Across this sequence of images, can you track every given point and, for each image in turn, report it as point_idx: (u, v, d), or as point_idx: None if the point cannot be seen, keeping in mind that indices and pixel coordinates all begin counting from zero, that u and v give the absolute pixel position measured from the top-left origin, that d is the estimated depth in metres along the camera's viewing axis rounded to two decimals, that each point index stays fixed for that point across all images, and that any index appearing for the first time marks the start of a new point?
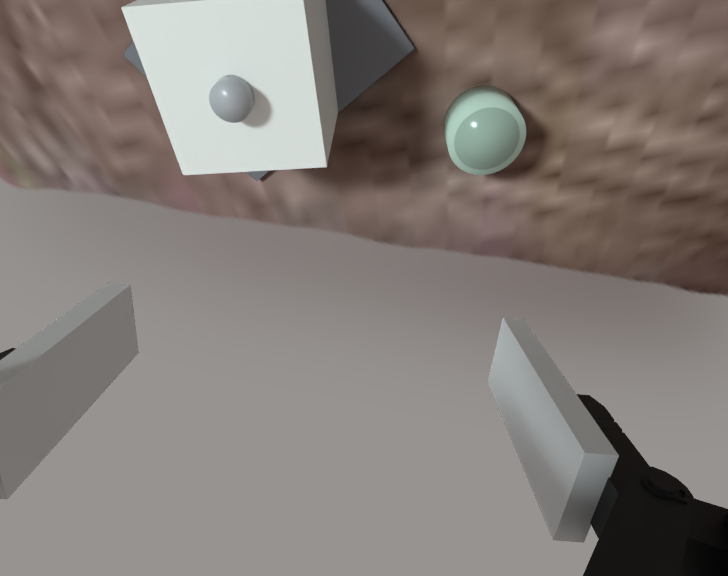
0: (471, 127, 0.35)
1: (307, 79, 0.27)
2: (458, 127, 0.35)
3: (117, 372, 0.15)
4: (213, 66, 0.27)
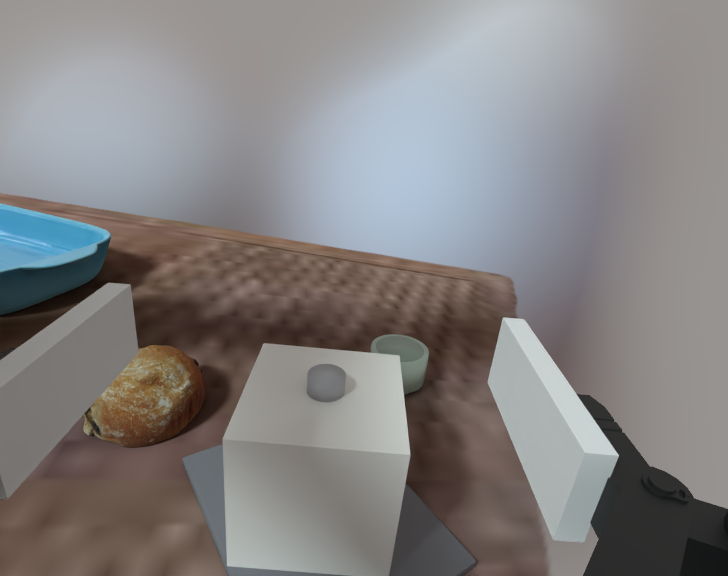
0: (390, 353, 0.46)
1: (322, 351, 0.33)
2: None
3: (117, 372, 0.15)
4: (296, 396, 0.28)
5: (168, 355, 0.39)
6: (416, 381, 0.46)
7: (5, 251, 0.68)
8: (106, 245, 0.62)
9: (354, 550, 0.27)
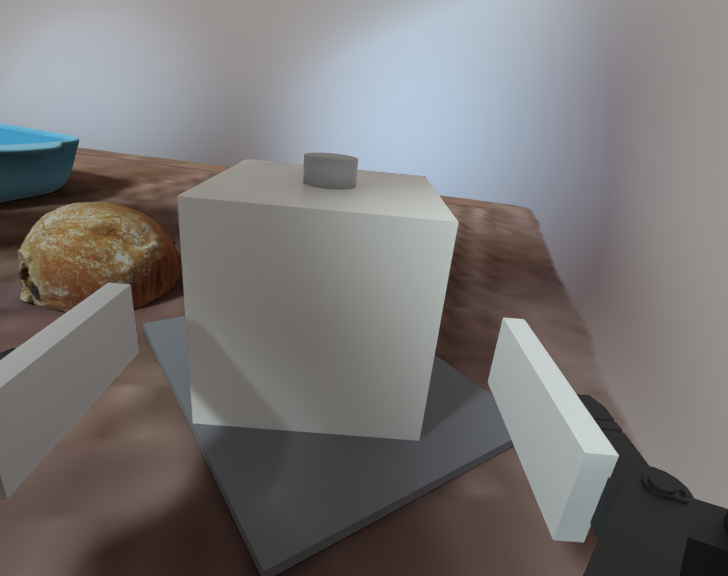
0: None
1: None
2: None
3: (117, 372, 0.15)
4: (288, 183, 0.20)
5: (131, 211, 0.31)
6: None
7: None
8: (73, 148, 0.55)
9: (372, 394, 0.19)
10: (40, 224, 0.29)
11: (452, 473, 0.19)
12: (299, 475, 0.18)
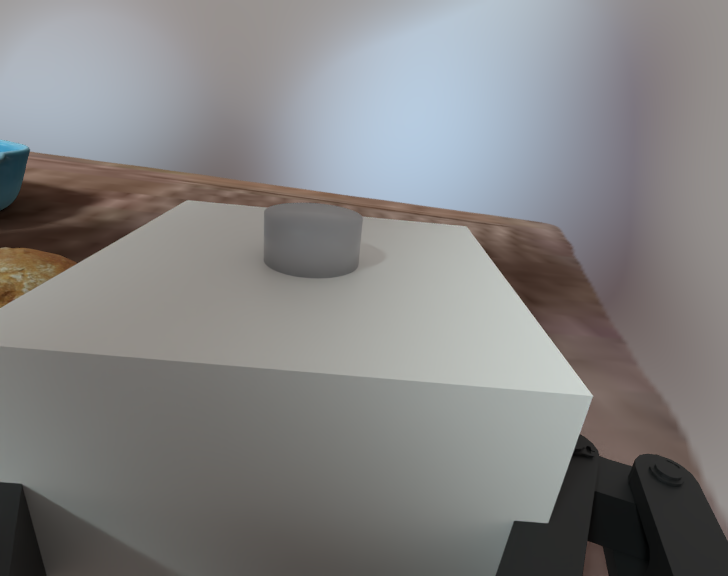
0: None
1: None
2: None
3: None
4: (234, 265, 0.11)
5: (45, 260, 0.23)
6: None
7: None
8: (21, 159, 0.46)
9: None
10: None
11: None
12: None
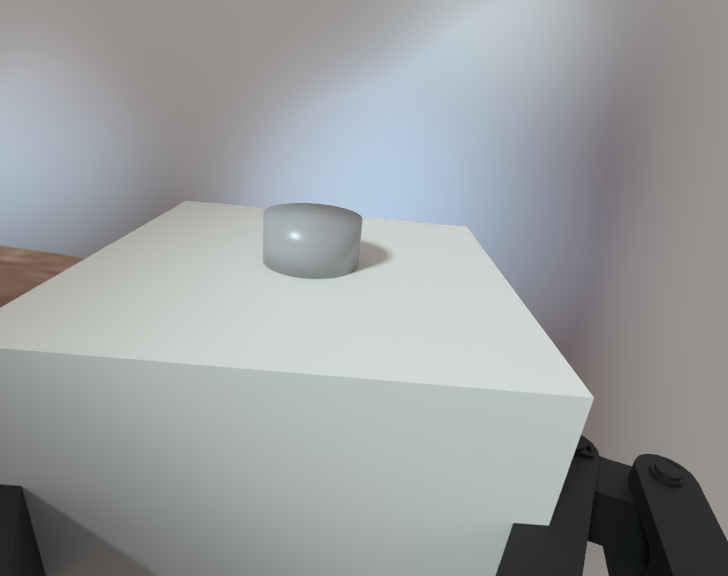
0: None
1: None
2: None
3: None
4: (233, 266, 0.11)
5: None
6: None
7: None
8: None
9: None
10: None
11: None
12: None
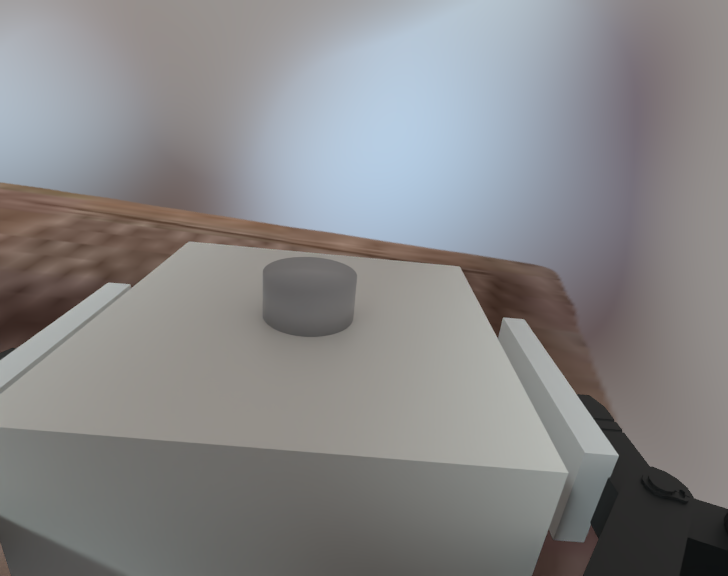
0: None
1: (306, 255, 0.16)
2: None
3: None
4: (234, 322, 0.11)
5: None
6: None
7: None
8: None
9: None
10: None
11: None
12: None
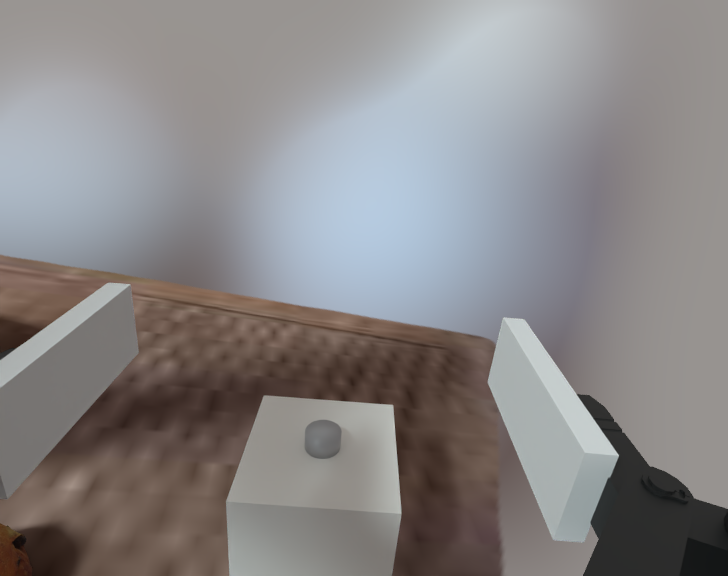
0: None
1: (319, 402, 0.35)
2: None
3: (117, 372, 0.15)
4: (294, 452, 0.30)
5: None
6: None
7: None
8: None
9: None
10: None
11: None
12: None
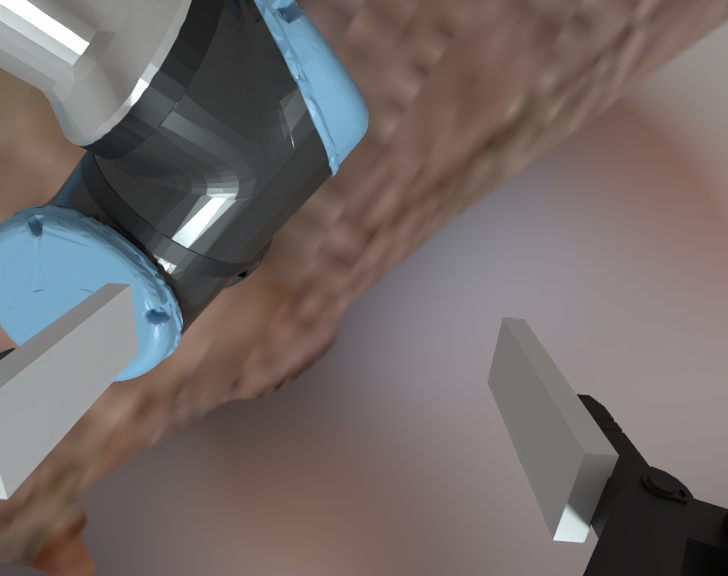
0: None
1: None
2: None
3: (117, 372, 0.15)
4: None
5: None
6: None
7: None
8: None
9: None
10: None
11: None
12: None
